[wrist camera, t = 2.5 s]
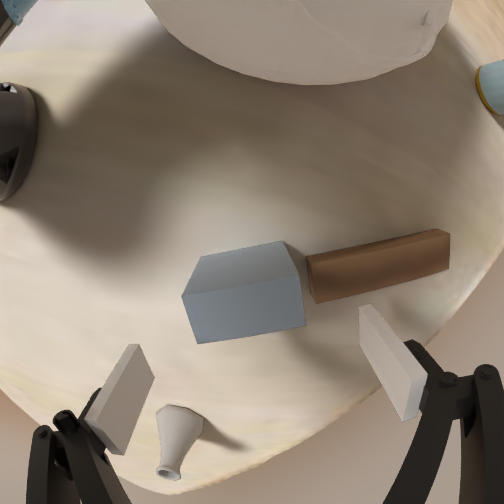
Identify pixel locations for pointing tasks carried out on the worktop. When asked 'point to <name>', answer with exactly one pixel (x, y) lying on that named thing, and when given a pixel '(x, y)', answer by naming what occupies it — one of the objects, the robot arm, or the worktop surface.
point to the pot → (306, 35)
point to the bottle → (492, 86)
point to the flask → (176, 438)
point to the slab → (244, 294)
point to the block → (377, 264)
